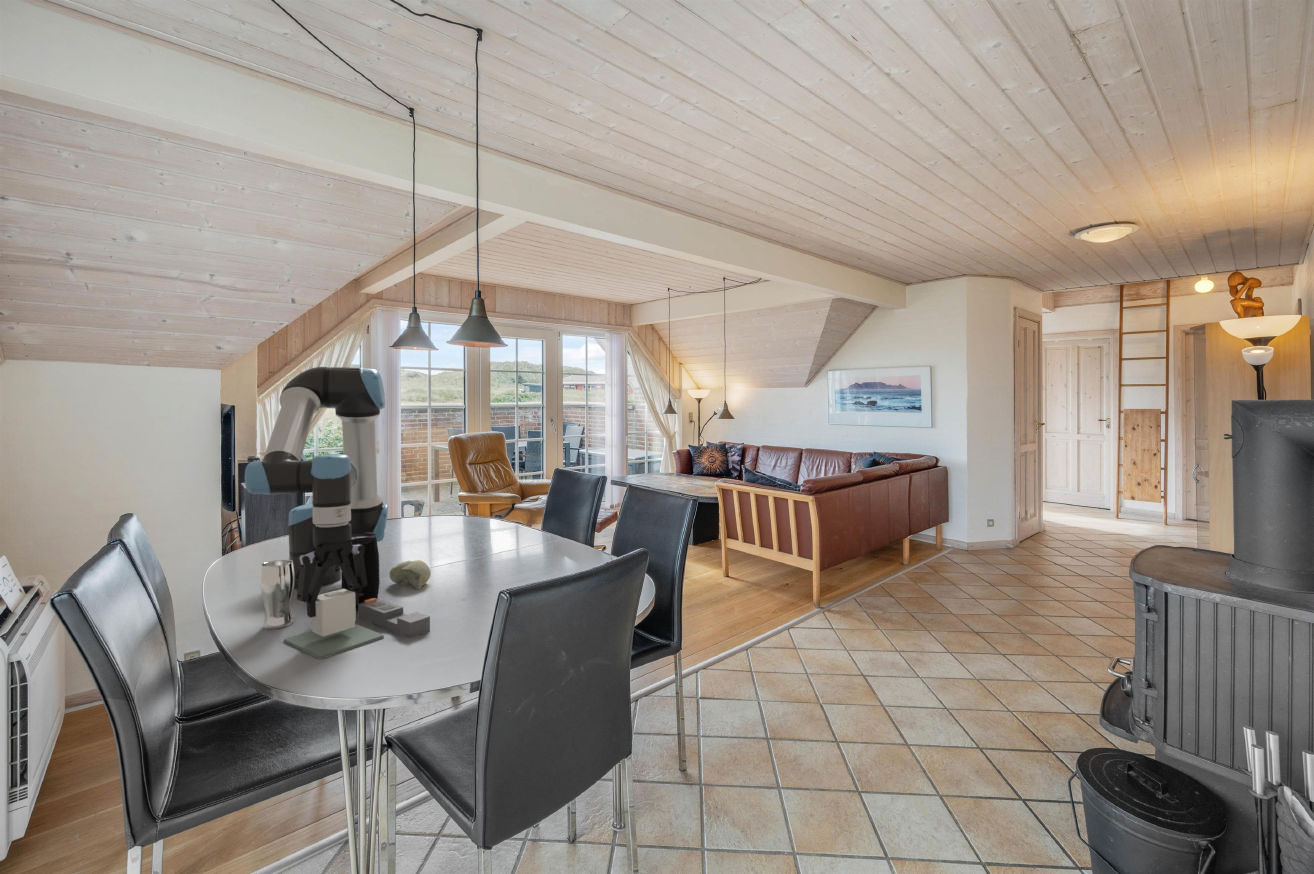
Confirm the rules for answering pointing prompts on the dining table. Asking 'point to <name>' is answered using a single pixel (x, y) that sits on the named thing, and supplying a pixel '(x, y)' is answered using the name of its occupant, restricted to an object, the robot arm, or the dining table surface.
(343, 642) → the mat
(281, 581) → the beer glass
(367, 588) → the portable speaker
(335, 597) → the block
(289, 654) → the dining table surface
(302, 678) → the dining table surface
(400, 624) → the power strip
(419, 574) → the seashell
